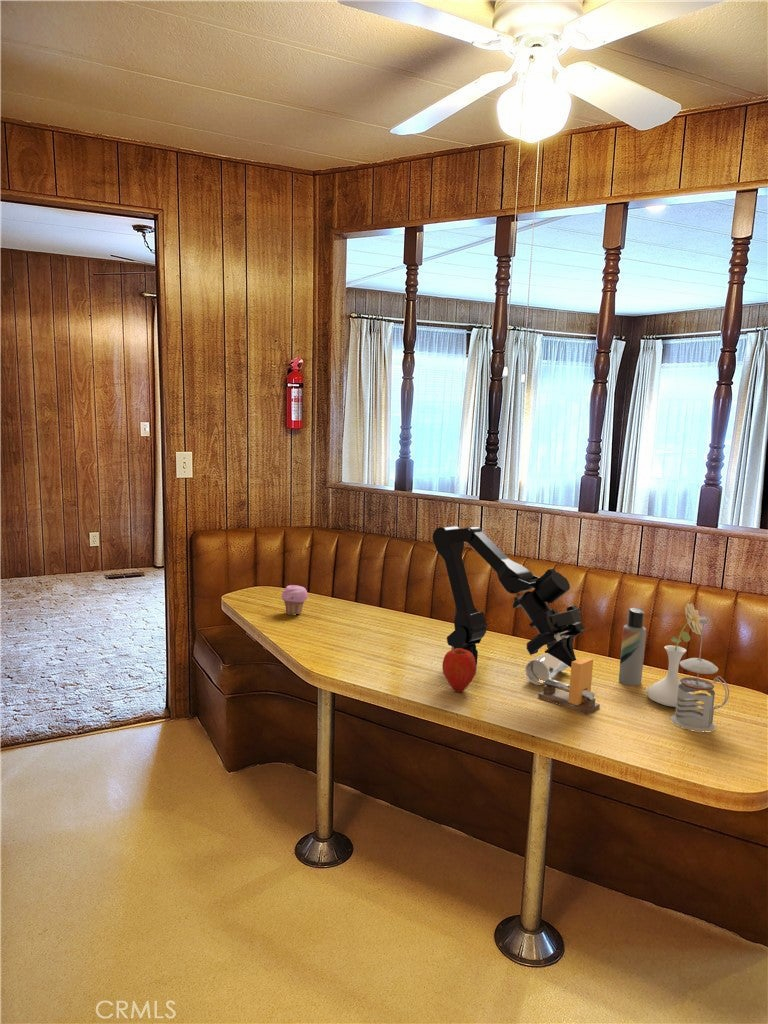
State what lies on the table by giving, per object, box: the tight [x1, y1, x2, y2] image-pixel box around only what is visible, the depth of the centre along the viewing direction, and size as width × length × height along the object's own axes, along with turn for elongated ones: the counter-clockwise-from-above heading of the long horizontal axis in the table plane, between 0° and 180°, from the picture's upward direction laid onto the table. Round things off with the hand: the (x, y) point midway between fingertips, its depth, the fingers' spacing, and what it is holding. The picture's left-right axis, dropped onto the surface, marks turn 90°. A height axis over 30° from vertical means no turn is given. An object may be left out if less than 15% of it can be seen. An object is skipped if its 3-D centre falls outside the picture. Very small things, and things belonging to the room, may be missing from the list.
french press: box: [669, 617, 730, 733], centre depth 156 cm, size 10×12×25 cm
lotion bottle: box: [618, 607, 647, 687], centre depth 182 cm, size 6×6×20 cm
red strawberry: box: [441, 648, 477, 693], centre depth 171 cm, size 9×8×11 cm
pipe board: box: [537, 684, 601, 715], centre depth 168 cm, size 13×8×5 cm, turn 45°
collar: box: [568, 656, 594, 705], centre depth 164 cm, size 2×6×10 cm, turn 135°
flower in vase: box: [645, 602, 705, 708], centre depth 169 cm, size 13×11×25 cm
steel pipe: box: [545, 678, 595, 700], centre depth 167 cm, size 12×2×2 cm, turn 45°
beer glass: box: [525, 653, 569, 686], centre depth 183 cm, size 7×7×15 cm
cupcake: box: [281, 584, 308, 616], centre depth 233 cm, size 9×9×10 cm
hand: (576, 668), depth 165 cm, fingers closed, pressing on collar
